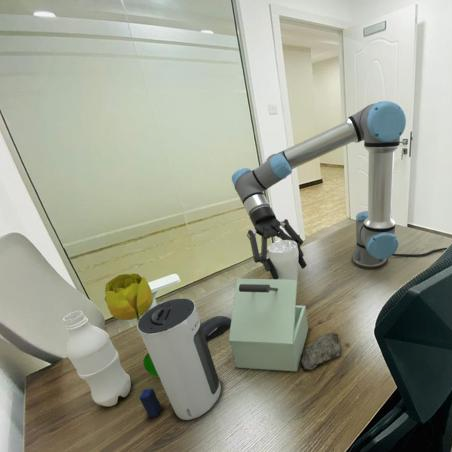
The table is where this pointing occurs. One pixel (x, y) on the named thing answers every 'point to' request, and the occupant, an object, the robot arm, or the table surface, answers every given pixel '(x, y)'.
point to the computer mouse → (215, 326)
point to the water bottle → (95, 360)
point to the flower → (130, 303)
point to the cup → (284, 259)
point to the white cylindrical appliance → (181, 356)
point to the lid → (264, 311)
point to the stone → (321, 351)
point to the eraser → (150, 402)
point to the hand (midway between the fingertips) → (291, 273)
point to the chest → (273, 349)
